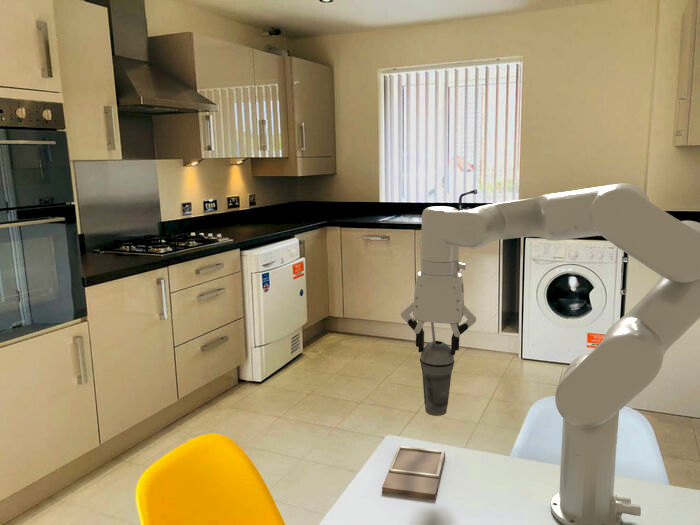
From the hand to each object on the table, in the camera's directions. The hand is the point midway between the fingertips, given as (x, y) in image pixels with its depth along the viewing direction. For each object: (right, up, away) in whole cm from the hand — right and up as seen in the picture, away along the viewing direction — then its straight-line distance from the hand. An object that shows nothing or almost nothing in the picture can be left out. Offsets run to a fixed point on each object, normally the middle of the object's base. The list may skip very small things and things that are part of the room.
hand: (437, 350), depth 123 cm
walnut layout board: (-4, -28, +6) cm, 29 cm away
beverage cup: (0, -14, +3) cm, 14 cm away
